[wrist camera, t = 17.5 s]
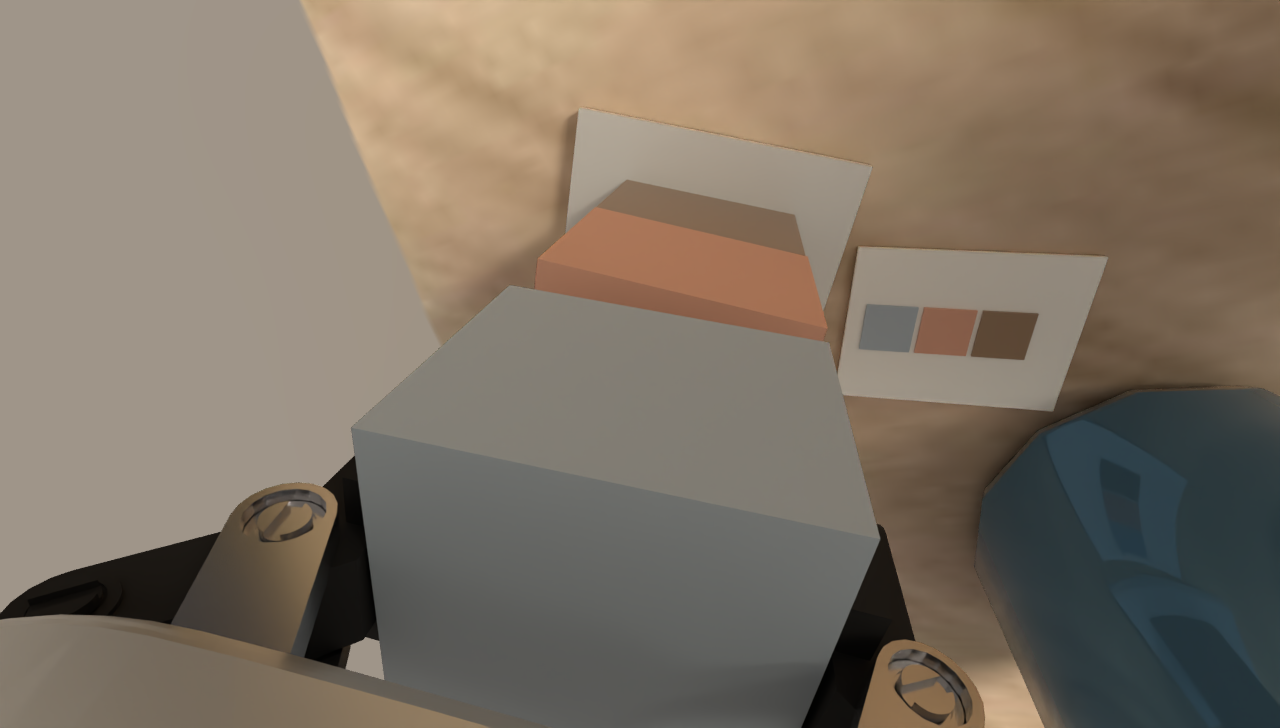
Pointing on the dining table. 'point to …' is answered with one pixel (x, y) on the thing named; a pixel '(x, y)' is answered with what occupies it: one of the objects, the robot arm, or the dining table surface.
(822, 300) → the tower base
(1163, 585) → the wine bottle
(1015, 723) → the dining table surface
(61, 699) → the robot arm
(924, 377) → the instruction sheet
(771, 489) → the slate brick
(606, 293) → the terracotta brick
